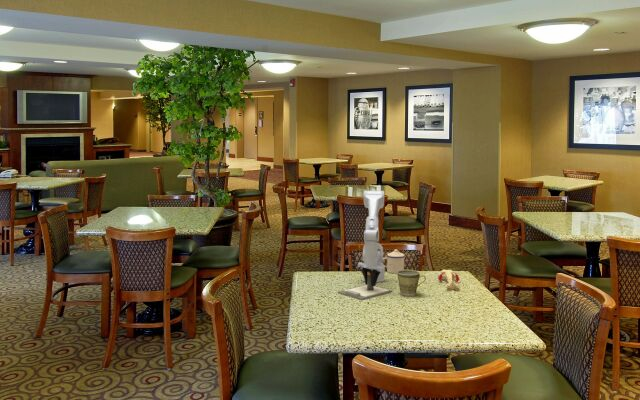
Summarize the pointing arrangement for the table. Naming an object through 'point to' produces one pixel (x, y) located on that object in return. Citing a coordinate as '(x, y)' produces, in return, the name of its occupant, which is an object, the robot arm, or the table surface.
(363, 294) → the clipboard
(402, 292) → the ceramic cup
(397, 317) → the table surface
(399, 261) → the teacup with lid
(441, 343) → the table surface
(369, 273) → the marker
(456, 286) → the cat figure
